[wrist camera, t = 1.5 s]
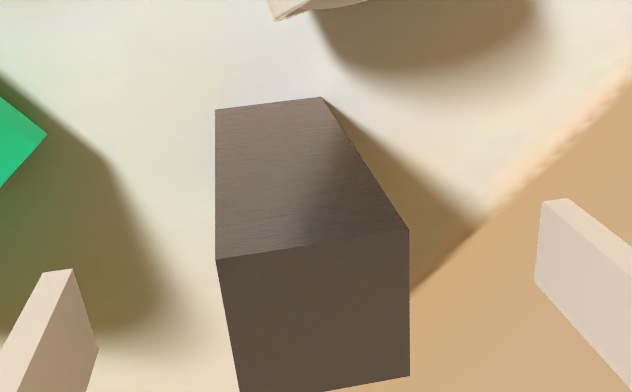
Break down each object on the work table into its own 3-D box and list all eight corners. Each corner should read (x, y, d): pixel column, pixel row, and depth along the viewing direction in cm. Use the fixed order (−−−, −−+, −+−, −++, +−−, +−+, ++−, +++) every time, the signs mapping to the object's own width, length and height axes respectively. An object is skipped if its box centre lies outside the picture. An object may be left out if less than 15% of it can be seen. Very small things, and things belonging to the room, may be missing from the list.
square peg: (230, 205, 25) (242, 406, 14) (215, 109, 23) (215, 259, 12) (328, 191, 26) (409, 375, 15) (321, 96, 24) (408, 229, 13)
